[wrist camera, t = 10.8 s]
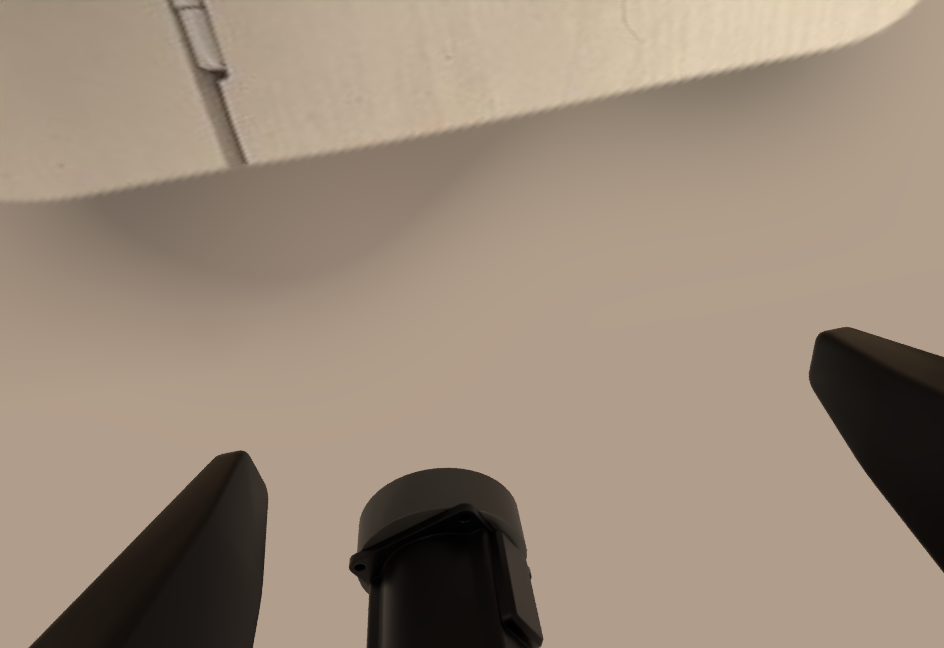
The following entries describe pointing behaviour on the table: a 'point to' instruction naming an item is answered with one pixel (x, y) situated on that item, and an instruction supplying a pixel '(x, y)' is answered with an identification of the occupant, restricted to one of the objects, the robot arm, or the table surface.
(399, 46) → the table surface
